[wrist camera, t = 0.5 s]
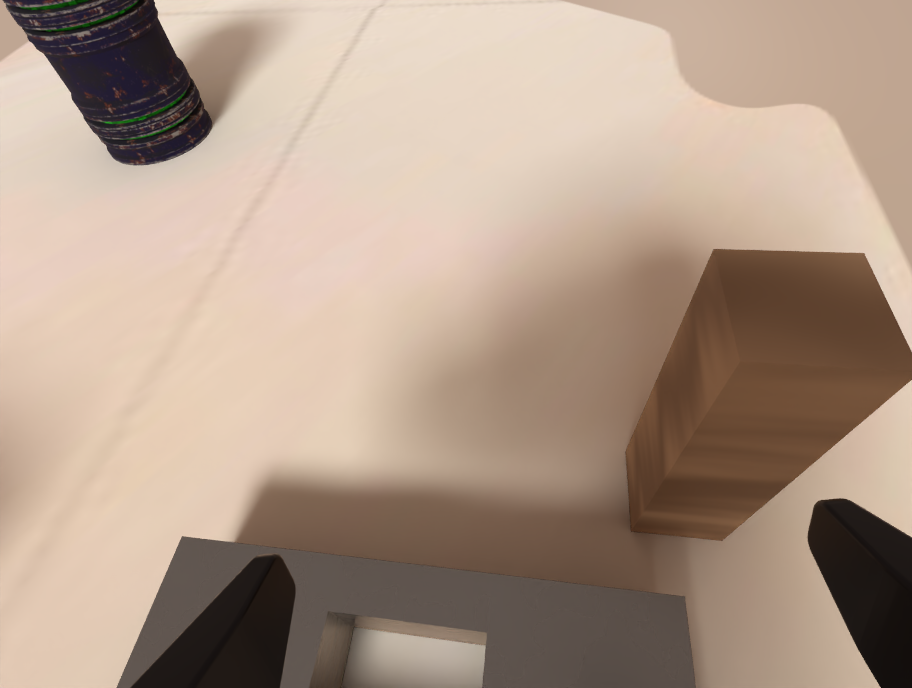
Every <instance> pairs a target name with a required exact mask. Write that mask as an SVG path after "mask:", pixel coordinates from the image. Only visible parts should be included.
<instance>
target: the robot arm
mask: <svg viewBox="0 0 912 688" xmlns="http://www.w3.org/2000/svg"><path fill="white" fill-rule="evenodd" d="M808 544H809V547H810V550H811V552H812V554H813V557H814V559H815V561H816V563H817V565H818V567H819V569H820V571H821V573H822V575H823V578H824V580H825V582H826V584H827V586H828V588H829V590H830V592H831V594H832V596H833V599H834V601H835V603H836V605H837V607H838V609H839V611H840V613H841V615H842V617H843V620H844V622H845V624H846V626H847V628H848V630H849V632H850V634H851V636H852V638H853V640H854V642H855V644H856V646H857V648H858V650H859V651H860V653H861V655H862V657H863V658H864V660H865V662H866V664H867V665H868V667H869V669H870V670H871V672H872V674H873V675H874V677H875V679H876V680H877V682H878V684H879V685H880V687H881V688H912V537H910V536H909V535H907V534H905V533H904V532H902V531H900V530H899V529H897V528H895V527H894V526H892V525H890V524H889V523H887V522H885V521H884V520H882V519H880V518H879V517H877V516H875V515H874V514H872V513H870V512H869V511H867V510H865V509H864V508H862V507H860V506H859V505H857V504H855V503H854V502H852V501H850V500H847V499H841V498H839V499H829V500H820V501H818V502H817V503H816V504H815V505H814V508H813V513H812V517H811V522H810V526H809V531H808ZM295 595H296V586H295V582H294V579H293V577H292V576H291V574H290V572H289V570H288V568H287V566H286V564H285V562H284V560H283V558H282V557H281V556H280V555H279V554H277V553H273V554H262V555H258V556H256V557H254V558H253V559H252V560H251V561H250V562H249V563H248V564H247V565H246V566H245V567H244V568H243V569H242V570H241V571H240V572H239V573H238V574H237V575H236V576H235V577H234V579H233V580H232V581H231V582H230V583H229V584H228V585H227V586H226V587H225V588H224V589H223V590H222V591H221V592H220V593H219V594H218V595H217V596H216V597H215V599H214V600H213V601H212V602H211V603H210V604H209V605H208V606H207V607H206V608H205V609H204V610H203V611H202V612H201V613H200V614H199V615H198V616H197V617H196V618H195V620H194V621H193V622H192V623H191V624H190V625H189V626H188V627H187V628H186V629H185V630H184V631H183V632H182V633H181V634H180V635H179V636H178V637H177V638H176V639H175V641H174V642H173V643H172V644H171V645H170V646H169V647H168V648H167V649H166V650H165V651H164V652H163V653H162V654H161V655H160V656H159V657H158V658H157V659H156V660H155V662H154V663H153V664H152V665H151V666H150V667H149V668H148V669H147V670H146V671H145V672H144V673H143V674H142V675H141V676H140V677H139V678H138V679H137V680H136V682H135V683H134V684H133V685H132V686H131V687H130V688H280V685H281V680H282V675H283V669H284V663H285V657H286V651H287V645H288V639H289V633H290V626H291V620H292V614H293V608H294V602H295Z"/></svg>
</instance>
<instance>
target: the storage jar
mask: <svg viewBox="0 0 912 688" xmlns="http://www.w3.org/2000/svg"><path fill="white" fill-rule="evenodd" d="M3 1H4V3H6V8H7V10H8V11H9V12H10V14H11V15H12V17H13V18H14V20H15V21H16V22H17V24H18V25H19V26H21V27H22V28H23V30H24V31H25V33H26V34H27V37H28V40H29V41H30V42H32V43H33V44H34V46H35V47H36V49H37V50H39V51H40V52H42V53H44V55H45V56H46V57H47V59H48V60H49V62H50V63H51V65H52V66H53V68H54V69H55V70H56V72H57V73H58V75H59V76H60V78H61V79H62V80H63V82H64V83H65V85H66V86H67V88H68V89H69V91H70V92H71V96H72V100H73V101H74V103H75V104H76V106H77V107H78V109H79V110H80V111H81V113H82V114H83V116H84V119H85V121H86V122H87V124H88V125H89V126H90V128H91V129H92V131H93V132H94V133H95V134H96V135H98V137H99V138H100V140H101V141H102V142H103V143H104V144H105V145H106V146H107V150H108V151H109V153H110V154H111V156H112V157H113V158H114V159H115V160H116V161H118V162H120V163H123V164H128V165H148V164H154V163H159V162H163V161H167V160H169V159H172V158H175V157H177V156H180V155H182V154H184V153H186V152H188V151H189V150H191V149H193V148H194V147H196V146H197V145H198V144H199V143H201V142H202V141H203V140H204V139H205V138H206V137H207V135H208V134H209V132H210V130H211V127H212V121H211V118H210V116H209V114H208V112H207V111H206V110H205V109H204V105H203V102H202V100H201V98H200V94H199V91H198V89H197V87H196V85H195V83H194V81H193V80H192V79H191V78H190V76H189V74H188V72H187V70H186V68H185V66H184V64H183V62H182V61H181V60H180V59H179V58H178V57H177V56H176V54H175V52H174V50H173V48H172V46H171V44H170V42H169V40H168V38H167V36H166V34H165V32H164V30H163V28H162V26H161V24H160V22H159V20H158V18H157V17H158V11H157V9H156V7H155V2H154V0H3Z"/></svg>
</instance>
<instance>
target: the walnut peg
mask: <svg viewBox="0 0 912 688" xmlns="http://www.w3.org/2000/svg"><path fill="white" fill-rule="evenodd" d="M911 380H912V352H911V350H910V348H909V346H908V344H907V341H906V339H905V337H904V335H903V333H902V331H901V329H900V327H899V325H898V323H897V321H896V319H895V317H894V314H893V312H892V310H891V308H890V306H889V304H888V302H887V300H886V298H885V296H884V294H883V292H882V290H881V288H880V285H879V283H878V281H877V279H876V277H875V275H874V273H873V271H872V269H871V267H870V265H869V263H868V261H867V258H866V256H865V254H864V253H835V252H799V251H763V250H726V249H713V252H712V254H711V256H710V259H709V261H708V263H707V265H706V268H705V270H704V272H703V275H702V277H701V279H700V282H699V284H698V286H697V289H696V291H695V293H694V295H693V298H692V300H691V302H690V305H689V307H688V309H687V312H686V314H685V316H684V318H683V321H682V323H681V325H680V328H679V330H678V332H677V335H676V337H675V339H674V342H673V344H672V346H671V348H670V351H669V353H668V355H667V358H666V360H665V362H664V365H663V367H662V369H661V371H660V374H659V376H658V378H657V381H656V383H655V385H654V388H653V390H652V392H651V394H650V397H649V399H648V401H647V404H646V406H645V408H644V411H643V413H642V415H641V418H640V420H639V422H638V424H637V427H636V429H635V431H634V434H633V436H632V438H631V441H630V443H629V445H628V447H627V450H626V465H627V479H628V494H629V508H630V522H631V531H634V532H644V533H654V534H663V535H673V536H682V537H692V538H702V539H711V540H721V541H722V540H723V539H725V538H726V537H727V536H728V535H729V534H730V533H732V532H733V531H734V530H735V529H736V528H738V527H739V526H740V525H741V524H742V523H743V522H745V521H746V520H747V519H748V518H749V517H750V516H752V515H753V514H754V513H755V512H756V511H758V510H759V509H760V508H761V507H762V506H763V505H765V504H766V503H767V502H768V501H769V500H771V499H772V498H773V497H774V496H775V495H776V494H778V493H779V492H780V491H781V490H782V489H783V488H785V487H786V486H787V485H788V484H789V483H791V482H792V481H793V480H794V479H795V478H796V477H798V476H799V475H800V474H801V473H802V472H803V471H805V470H806V469H807V468H808V467H809V466H811V465H812V464H813V463H814V462H815V461H816V460H818V459H819V458H820V457H821V456H822V455H823V454H825V453H826V452H827V451H828V450H829V449H831V448H832V447H833V446H834V445H835V444H836V443H838V442H839V441H840V440H841V439H842V438H843V437H845V436H846V435H847V434H848V433H849V432H851V431H852V430H853V429H854V428H855V427H856V426H858V425H859V424H860V423H861V422H862V421H864V420H865V419H866V418H867V417H868V416H869V415H871V414H872V413H873V412H874V411H875V410H876V409H878V408H879V407H880V406H881V405H882V404H884V403H885V402H886V401H887V400H888V399H889V398H891V397H892V396H893V395H894V394H895V393H896V392H898V391H899V390H900V389H901V388H902V387H904V386H905V385H906V384H907V383H908V382H909V381H911Z"/></svg>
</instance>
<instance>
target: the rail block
mask: <svg viewBox="0 0 912 688" xmlns="http://www.w3.org/2000/svg"><path fill="white" fill-rule="evenodd" d="M273 553H277V554H279V555H280V556H281V557H282V558H283V560H284V562H285V564H286V566H287V568H288V570H289V572H290V574H291V576H292V577H293V579H294V582H295V586H296V595H295V602H294V608H293V614H292V620H291V626H290V633H289V639H288V645H287V651H286V657H285V663H284V669H283V675H282V680H281V685H280V688H341V684H342V679H343V675H344V670H345V665H346V661H347V656H348V652H349V647H350V643H351V638H352V633H353V629H354V627H357V628H365V629H372V630H379V631H386V632H393V633H400V634H407V635H414V636H422V637H429V638H436V639H443V640H450V641H457V642H464V643H472V644H479V645H486V651H485V663H484V675H483V687H482V688H696V686H695V677H694V669H693V661H692V653H691V644H690V636H689V628H688V620H687V611H686V603H685V597H684V596H676V595H668V594H659V593H651V592H642V591H634V590H626V589H617V588H609V587H601V586H592V585H584V584H576V583H567V582H559V581H551V580H542V579H534V578H526V577H517V576H509V575H500V574H492V573H484V572H475V571H467V570H459V569H450V568H442V567H434V566H425V565H417V564H409V563H400V562H392V561H383V560H375V559H367V558H358V557H350V556H342V555H333V554H325V553H317V552H308V551H300V550H292V549H283V548H275V547H266V546H258V545H250V544H241V543H233V542H225V541H216V540H208V539H200V538H191V537H183V536H182V538H181V540H180V542H179V545H178V547H177V549H176V551H175V554H174V556H173V558H172V561H171V563H170V565H169V568H168V570H167V572H166V575H165V577H164V579H163V582H162V584H161V586H160V588H159V591H158V593H157V595H156V598H155V600H154V602H153V605H152V607H151V609H150V612H149V614H148V616H147V619H146V621H145V623H144V625H143V628H142V630H141V632H140V635H139V637H138V639H137V642H136V644H135V646H134V649H133V651H132V653H131V656H130V658H129V660H128V662H127V665H126V667H125V669H124V672H123V674H122V676H121V679H120V681H119V683H118V686H117V688H130V687H131V686H132V685H133V684H134V683H135V682H136V680H137V679H138V678H139V677H140V676H141V675H142V674H143V673H144V672H145V671H146V670H147V669H148V668H149V667H150V666H151V665H152V664H153V663H154V662H155V660H156V659H157V658H158V657H159V656H160V655H161V654H162V653H163V652H164V651H165V650H166V649H167V648H168V647H169V646H170V645H171V644H172V643H173V642H174V641H175V639H176V638H177V637H178V636H179V635H180V634H181V633H182V632H183V631H184V630H185V629H186V628H187V627H188V626H189V625H190V624H191V623H192V622H193V621H194V620H195V618H196V617H197V616H198V615H199V614H200V613H201V612H202V611H203V610H204V609H205V608H206V607H207V606H208V605H209V604H210V603H211V602H212V601H213V600H214V599H215V597H216V596H217V595H218V594H219V593H220V592H221V591H222V590H223V589H224V588H225V587H226V586H227V585H228V584H229V583H230V582H231V581H232V580H233V579H234V577H235V576H236V575H237V574H238V573H239V572H240V571H241V570H242V569H243V568H244V567H245V566H246V565H247V564H248V563H249V562H250V561H251V560H252V559H253V558H254V557H256V556H258V555H262V554H273Z"/></svg>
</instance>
